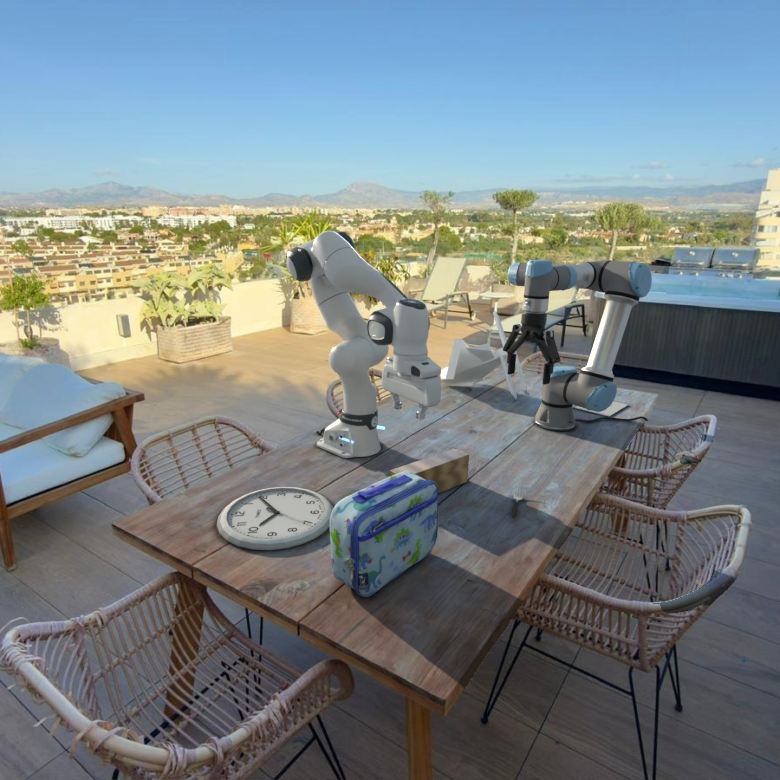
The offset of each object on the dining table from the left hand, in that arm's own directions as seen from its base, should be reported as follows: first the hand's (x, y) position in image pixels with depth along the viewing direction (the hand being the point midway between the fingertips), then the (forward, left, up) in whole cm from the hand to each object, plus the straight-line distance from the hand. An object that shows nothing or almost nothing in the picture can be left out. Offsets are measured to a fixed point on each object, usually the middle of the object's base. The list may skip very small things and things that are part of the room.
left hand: (408, 413), depth 139 cm
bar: (+3, +8, -26) cm, 27 cm away
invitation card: (+32, +116, -26) cm, 123 cm away
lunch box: (+12, -30, -26) cm, 41 cm away
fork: (+27, +13, -26) cm, 40 cm away
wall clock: (-24, -26, -26) cm, 44 cm away
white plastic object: (-20, +106, -26) cm, 111 cm away
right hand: (+19, +45, +2) cm, 48 cm away
